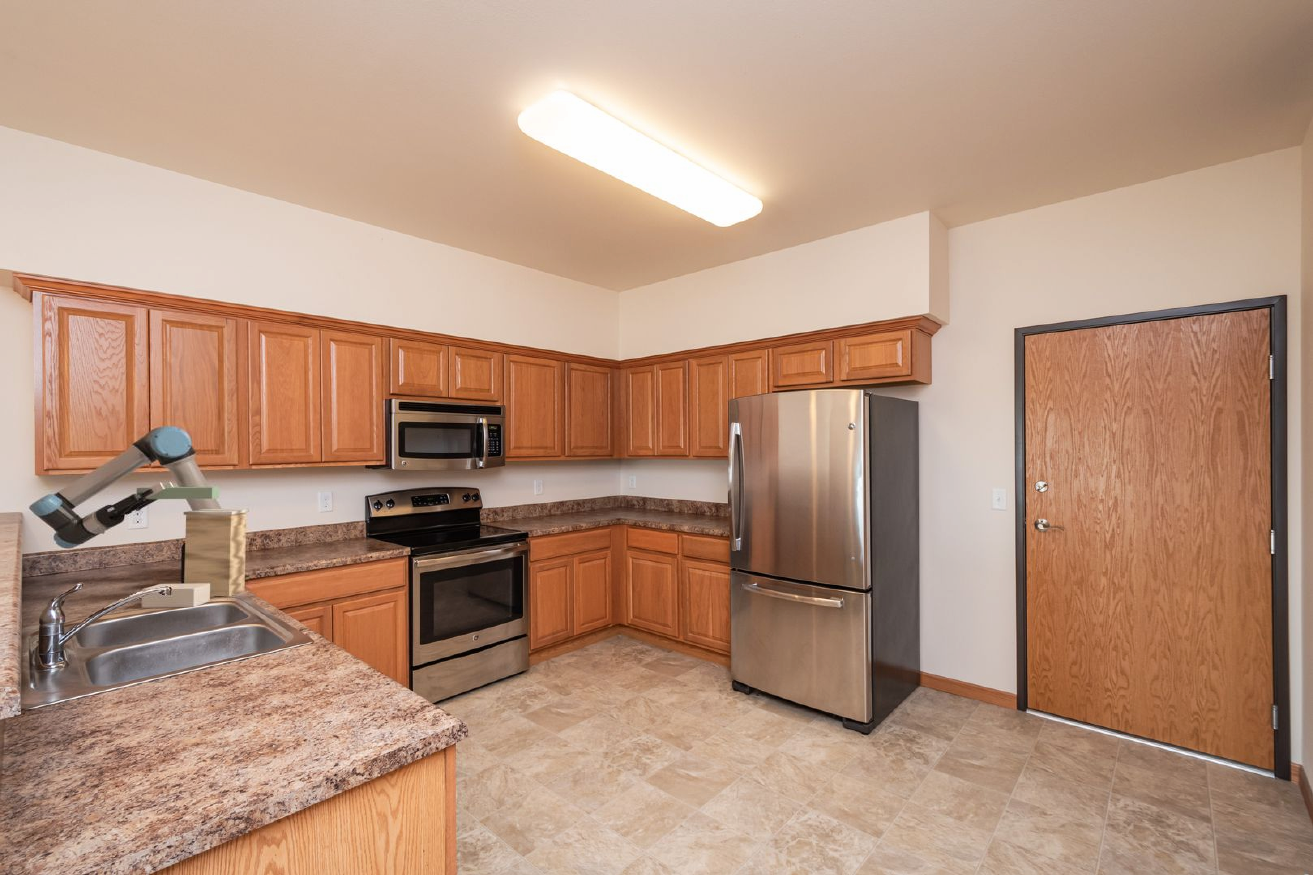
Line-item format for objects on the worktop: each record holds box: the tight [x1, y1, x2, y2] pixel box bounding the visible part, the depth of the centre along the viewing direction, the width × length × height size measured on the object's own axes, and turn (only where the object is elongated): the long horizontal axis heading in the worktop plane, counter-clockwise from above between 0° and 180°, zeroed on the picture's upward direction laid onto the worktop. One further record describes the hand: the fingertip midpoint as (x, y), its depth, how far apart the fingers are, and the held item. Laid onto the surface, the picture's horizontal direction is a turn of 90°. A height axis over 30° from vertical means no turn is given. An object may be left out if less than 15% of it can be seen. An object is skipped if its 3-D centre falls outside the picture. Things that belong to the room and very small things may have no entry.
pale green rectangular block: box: [136, 486, 220, 500], centre depth 212 cm, size 4×25×4 cm, turn 96°
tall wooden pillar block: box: [183, 508, 249, 598], centre depth 213 cm, size 10×16×30 cm, turn 95°
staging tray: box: [141, 583, 211, 609], centre depth 199 cm, size 8×16×6 cm, turn 95°
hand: (167, 485), depth 212 cm, fingers closed on pale green rectangular block, 4 cm apart
